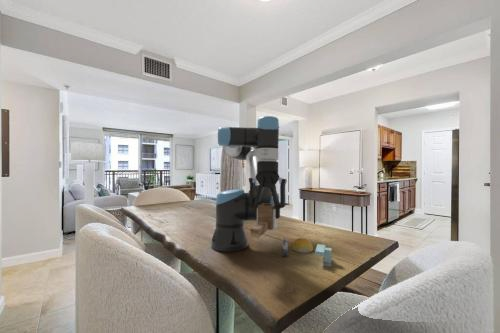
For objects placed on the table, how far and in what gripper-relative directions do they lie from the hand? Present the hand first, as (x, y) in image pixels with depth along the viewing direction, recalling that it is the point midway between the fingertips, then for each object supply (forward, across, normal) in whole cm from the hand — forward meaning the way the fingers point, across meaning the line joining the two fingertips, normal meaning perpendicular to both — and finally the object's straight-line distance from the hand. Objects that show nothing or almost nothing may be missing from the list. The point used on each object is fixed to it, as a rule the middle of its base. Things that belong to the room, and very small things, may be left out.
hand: (266, 226), depth 79 cm
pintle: (+12, +5, +7) cm, 15 cm away
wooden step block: (0, 0, -5) cm, 5 cm away
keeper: (+12, +19, +7) cm, 23 cm away
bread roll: (+13, +10, +17) cm, 23 cm away
